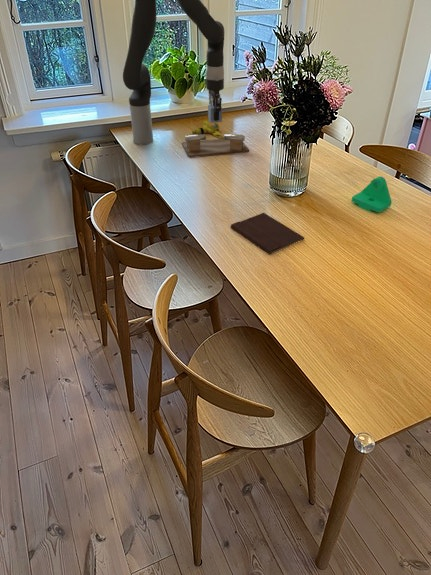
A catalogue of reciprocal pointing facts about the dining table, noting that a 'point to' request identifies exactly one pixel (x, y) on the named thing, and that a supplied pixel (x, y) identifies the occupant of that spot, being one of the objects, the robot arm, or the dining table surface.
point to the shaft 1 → (202, 137)
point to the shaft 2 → (228, 136)
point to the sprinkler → (208, 129)
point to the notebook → (266, 233)
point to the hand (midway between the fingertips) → (214, 118)
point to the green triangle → (374, 196)
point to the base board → (213, 146)
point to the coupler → (211, 114)
